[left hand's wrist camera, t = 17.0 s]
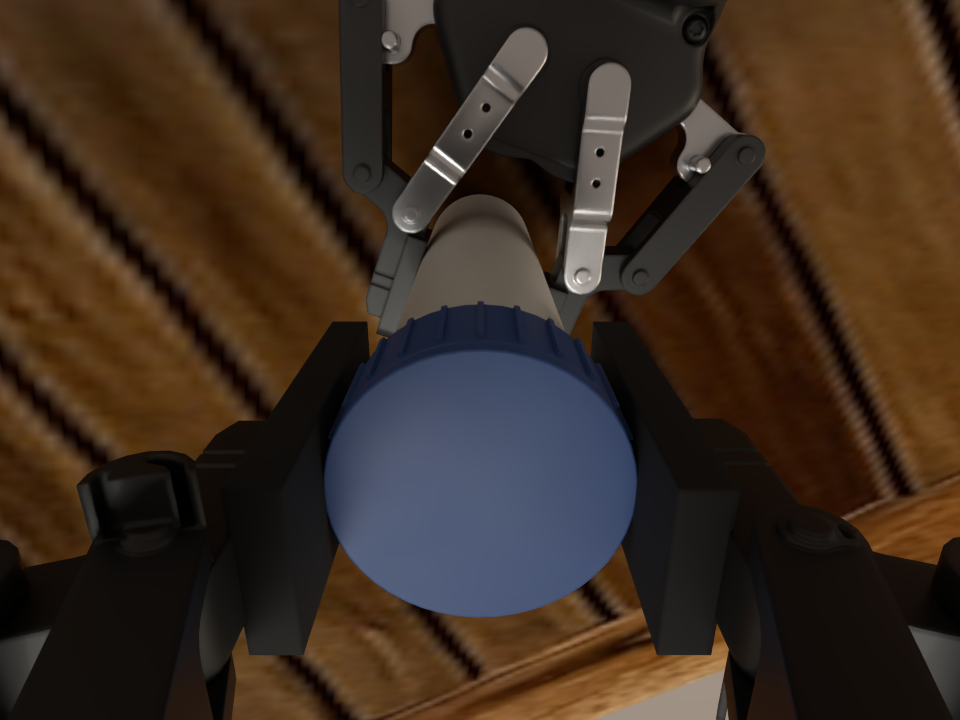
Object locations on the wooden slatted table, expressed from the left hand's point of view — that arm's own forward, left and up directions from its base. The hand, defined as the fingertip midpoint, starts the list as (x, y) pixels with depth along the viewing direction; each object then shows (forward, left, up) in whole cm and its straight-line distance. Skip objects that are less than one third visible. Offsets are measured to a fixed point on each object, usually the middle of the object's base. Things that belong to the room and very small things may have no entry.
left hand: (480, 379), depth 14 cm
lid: (0, 0, +4) cm, 4 cm away
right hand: (+2, -2, -8) cm, 9 cm away
